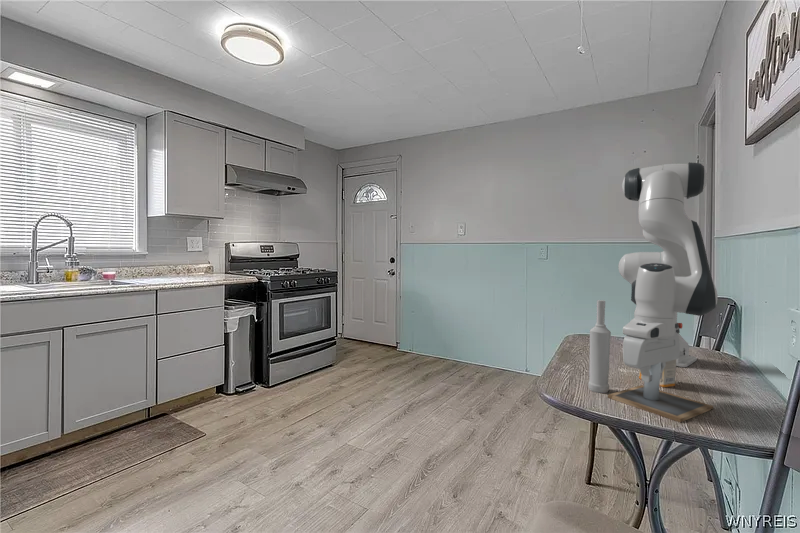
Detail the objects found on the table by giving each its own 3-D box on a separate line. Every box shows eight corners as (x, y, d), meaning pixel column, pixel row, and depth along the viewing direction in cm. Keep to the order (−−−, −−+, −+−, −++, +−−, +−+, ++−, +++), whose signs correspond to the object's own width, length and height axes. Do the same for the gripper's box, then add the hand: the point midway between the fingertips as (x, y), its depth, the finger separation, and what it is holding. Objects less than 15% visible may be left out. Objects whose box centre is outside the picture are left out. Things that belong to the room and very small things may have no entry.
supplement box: (637, 378, 118) (639, 336, 118) (649, 377, 120) (651, 335, 119) (663, 387, 110) (665, 342, 110) (676, 386, 112) (677, 341, 111)
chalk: (647, 394, 102) (650, 349, 102) (661, 399, 99) (664, 352, 99) (640, 396, 101) (643, 350, 100) (654, 401, 98) (657, 354, 97)
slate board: (641, 387, 110) (641, 385, 110) (713, 409, 95) (713, 405, 95) (607, 397, 102) (607, 394, 102) (680, 422, 87) (680, 418, 87)
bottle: (592, 385, 112) (594, 299, 111) (611, 390, 108) (614, 300, 107) (585, 389, 108) (587, 300, 107) (605, 394, 104) (608, 302, 103)
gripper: (662, 321, 107) (660, 371, 108) (618, 328, 97) (616, 382, 98) (688, 325, 102) (686, 377, 102) (644, 332, 92) (642, 390, 92)
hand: (651, 380), depth 100 cm, fingers closed on chalk, 3 cm apart
